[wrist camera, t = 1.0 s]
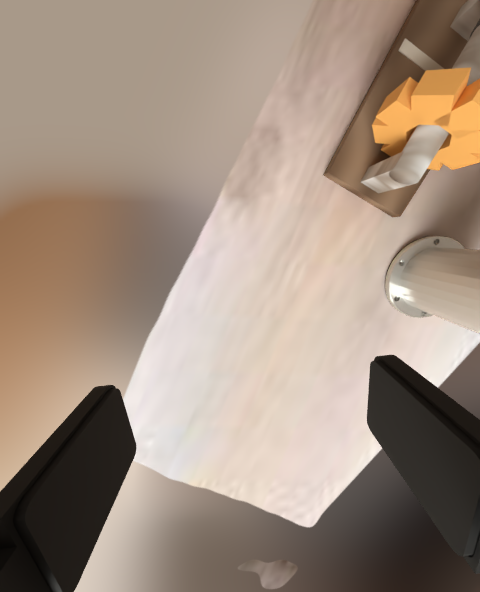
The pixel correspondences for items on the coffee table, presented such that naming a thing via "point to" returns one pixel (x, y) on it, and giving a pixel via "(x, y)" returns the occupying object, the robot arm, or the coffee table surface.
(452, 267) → the robot arm
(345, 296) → the coffee table surface
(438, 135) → the pipe stand
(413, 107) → the collar
